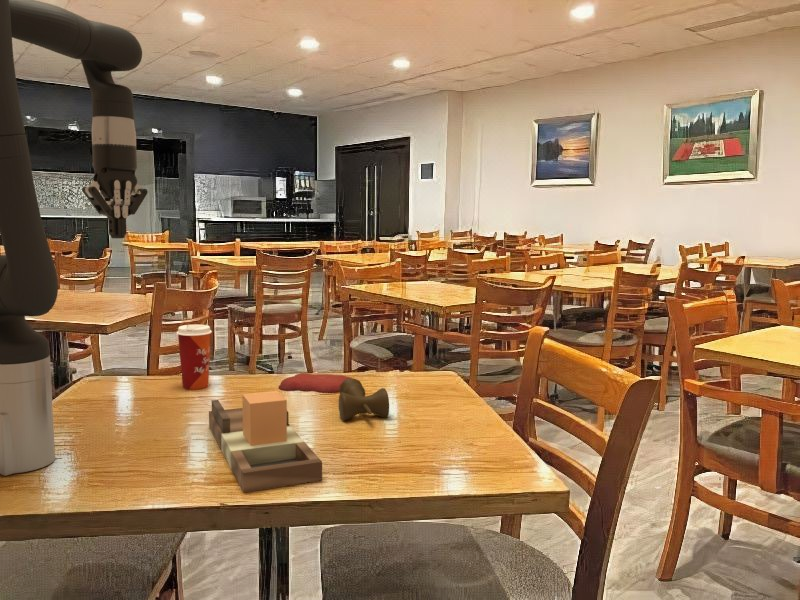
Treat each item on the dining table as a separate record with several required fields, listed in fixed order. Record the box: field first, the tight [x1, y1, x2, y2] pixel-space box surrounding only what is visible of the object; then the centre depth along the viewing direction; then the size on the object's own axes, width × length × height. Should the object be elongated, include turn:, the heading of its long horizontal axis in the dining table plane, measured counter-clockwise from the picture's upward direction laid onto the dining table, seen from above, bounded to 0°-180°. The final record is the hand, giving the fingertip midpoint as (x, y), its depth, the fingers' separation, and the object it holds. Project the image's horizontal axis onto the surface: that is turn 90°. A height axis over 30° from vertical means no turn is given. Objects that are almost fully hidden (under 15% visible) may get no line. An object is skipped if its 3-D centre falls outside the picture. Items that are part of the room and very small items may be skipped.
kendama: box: [338, 377, 390, 421], centre depth 138 cm, size 6×10×20 cm
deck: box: [208, 399, 323, 493], centre depth 115 cm, size 32×12×6 cm, turn 24°
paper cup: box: [176, 323, 213, 391], centre depth 155 cm, size 8×8×14 cm
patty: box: [278, 372, 351, 394], centre depth 159 cm, size 18×14×2 cm
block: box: [241, 390, 288, 446], centre depth 113 cm, size 6×6×7 cm
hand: (117, 238), depth 127 cm, fingers closed
